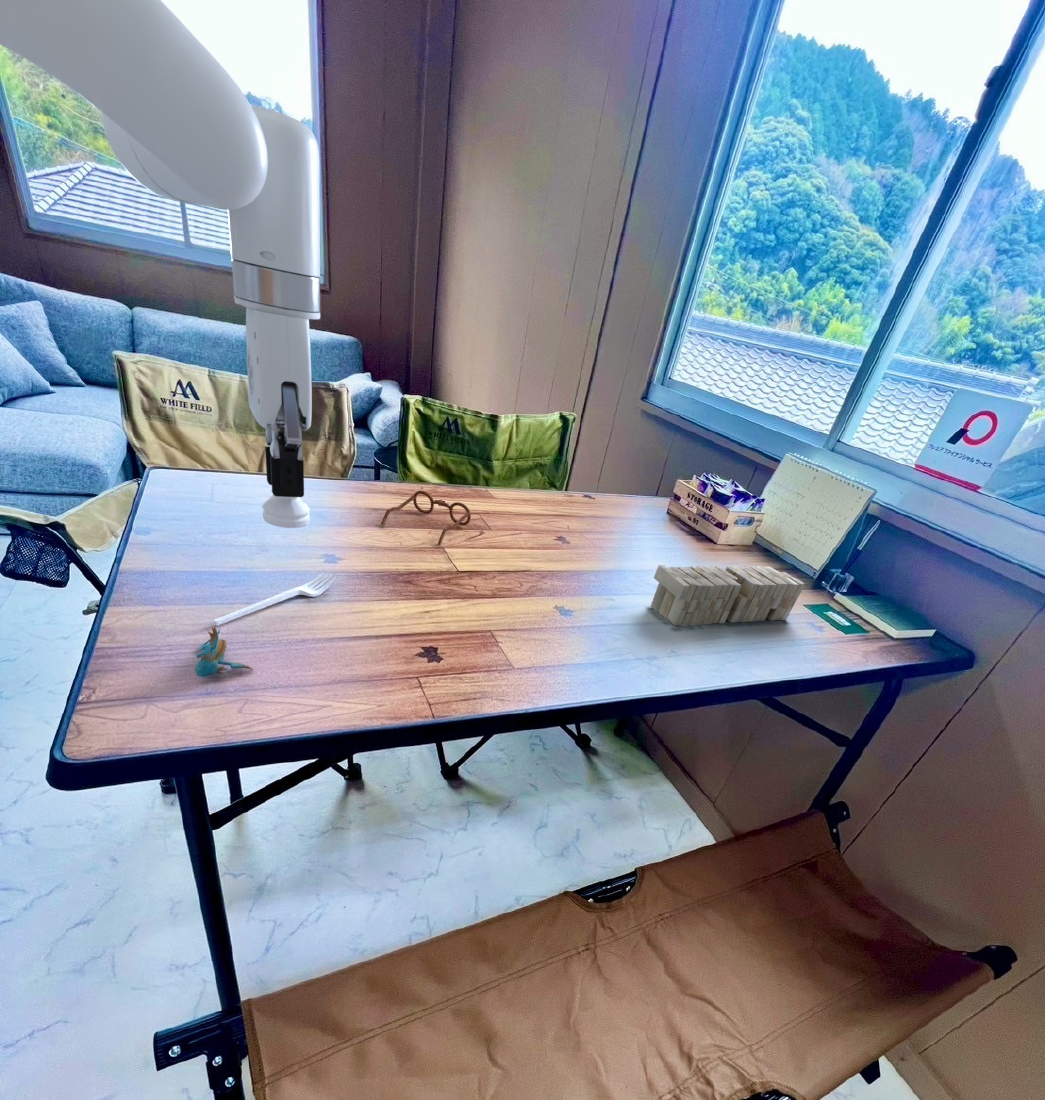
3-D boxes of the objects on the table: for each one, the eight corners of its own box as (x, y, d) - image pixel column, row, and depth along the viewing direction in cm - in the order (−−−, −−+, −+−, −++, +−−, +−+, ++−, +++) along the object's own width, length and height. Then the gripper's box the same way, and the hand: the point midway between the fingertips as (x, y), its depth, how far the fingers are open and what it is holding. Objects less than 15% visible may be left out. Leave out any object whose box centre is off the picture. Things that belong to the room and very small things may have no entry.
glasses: (469, 529, 120) (473, 505, 117) (439, 546, 109) (442, 519, 107) (414, 511, 123) (416, 487, 120) (379, 525, 112) (380, 499, 109)
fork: (205, 622, 74) (203, 609, 73) (322, 580, 89) (322, 568, 88) (223, 632, 73) (222, 619, 72) (338, 587, 88) (338, 576, 87)
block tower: (757, 605, 117) (641, 605, 104) (775, 566, 113) (657, 561, 99) (785, 624, 112) (667, 627, 98) (806, 584, 107) (685, 581, 94)
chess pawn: (256, 513, 67) (250, 429, 62) (299, 511, 70) (298, 431, 65) (272, 530, 64) (268, 443, 59) (317, 527, 67) (316, 444, 62)
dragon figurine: (150, 649, 66) (181, 654, 61) (200, 608, 69) (233, 609, 64) (191, 690, 70) (224, 698, 65) (237, 649, 73) (271, 653, 69)
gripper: (224, 277, 59) (239, 466, 69) (244, 293, 47) (258, 516, 58) (303, 292, 62) (306, 470, 72) (339, 311, 51) (336, 517, 61)
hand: (285, 488), depth 65 cm, fingers closed on chess pawn, 3 cm apart
